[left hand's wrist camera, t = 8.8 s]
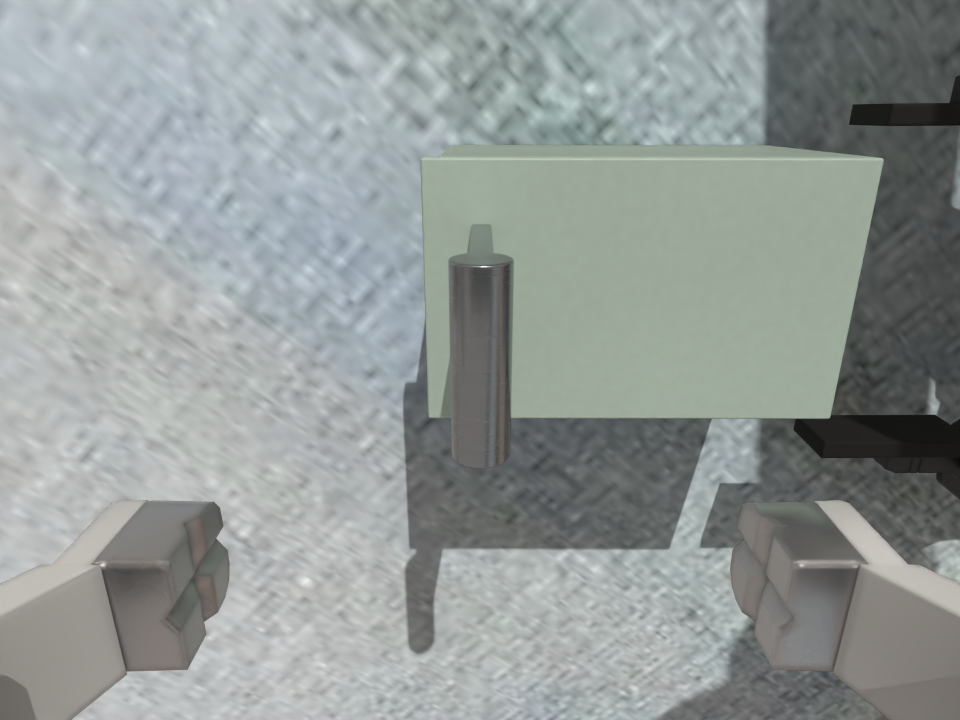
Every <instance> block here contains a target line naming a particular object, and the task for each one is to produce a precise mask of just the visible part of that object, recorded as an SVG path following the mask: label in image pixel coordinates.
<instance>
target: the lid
mask: <svg viewBox="0 0 960 720" xmlns="http://www.w3.org/2000/svg"><path fill="white" fill-rule="evenodd" d="M883 162H884V159H883V158H877V157H656V156H425V157H423V158H421V190H422V224H423V257H424V290H425V323H426V357H427V390H428V416H429V418H451V452H452V457H453V459H454V460H455V461H456V462H457V463H459V464H460V465H463V466H465V467H469V468H476V469H486V468H493V467H497V466H499V465H502V464H503V463H505V462H506V461H507V460H508V459H509V457H510V444H511V418H667V419H829V418H830V416H831V411H832V406H833V402H834V397H835V392H836V387H837V382H838V378H839V373H840V368H841V363H842V359H843V354H844V349H845V344H846V339H847V335H848V330H849V325H850V320H851V315H852V311H853V306H854V301H855V296H856V291H857V287H858V282H859V277H860V272H861V267H862V263H863V258H864V253H865V248H866V244H867V239H868V234H869V229H870V224H871V220H872V215H873V210H874V205H875V200H876V196H877V191H878V186H879V181H880V176H881V172H882V167H883Z"/></svg>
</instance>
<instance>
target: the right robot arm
mask: <svg viewBox="0 0 960 720" xmlns="http://www.w3.org/2000/svg"><path fill="white" fill-rule="evenodd" d="M849 125H875V126H954V125H960V75H959V76H957V77H956V78H955V82H954V87H953V91H952V95H951V100H950V103H915V104H857V105H853V107H852V112H851V118H850V123H849ZM794 431H795V432H796V433H797V434H798V435H799V436H800V437H801V438H802V439H803V440H804V441H805V442H806V443H807V444H808V445H809V446H810V447H811V448H812V449H813V450H814V451H815V452H816V453H817V454H818V455H819V456H820V457H821V458H874V459H875V460H876V461H877V462H878V463H879V464H880V465H882V466H883V467H884V468H885V469H887V470H889V471H892V472H895V473H908V472H909V473H917V472H918V473H937V474H936V479H937V480H938V482H939V483H940V484H942V485H943V486H944V487H945V488H946V489H948V490H949V491H950V492H951V493H953V494H954V495H955V496H956V497H958V498H959V499H960V419H959V420H958V421H956V422H954V423H953V424H951V425H950V424H948V423H947V422H945V421H944V420H942V419H941V418H939V417H937V416H936V415H831V416H830V418H829V419H796V420H795V426H794Z"/></svg>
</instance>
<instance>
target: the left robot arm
mask: <svg viewBox="0 0 960 720" xmlns="http://www.w3.org/2000/svg"><path fill="white" fill-rule="evenodd" d="M222 528H223V521H222V516H221V511H220V507H219V506H218V505H217V504H216V503H215V502H196V501H148V500H127V501H116V502H112V503H111V504H110V505H109V506H108V507H107V508H106V509H105V510H104V511H103V512H102V513H101V514H100V515H99V516H98V517H97V518H96V519H95V520H94V521H93V522H92V523H91V524H90V525H89V526H88V528H87V529H86V530H85V531H84V532H83V533H82V534H81V535H80V536H79V537H78V538H77V539H76V540H75V541H74V542H73V543H72V544H71V545H70V546H69V547H68V548H67V549H66V550H65V551H64V553H63V554H62V555H61V556H60V557H59V558H58V559H57V560H56V561H55V562H54V563H53V564H52V565H39V566H37V567H35V568H33V569H31V570H29V571H27V572H24V573H22V574H20V575H18V576H16V577H14V578H12V579H9V580H7V581H5V582H3V583H1V584H0V720H71V719H73V718H74V717H75V716H76V715H77V714H79V713H80V712H81V711H82V710H84V709H85V708H86V707H87V706H89V705H90V704H91V703H92V702H94V701H95V700H96V699H97V698H98V697H100V696H101V695H102V694H103V693H105V692H106V691H107V690H108V689H110V688H111V687H112V686H113V685H115V684H116V683H117V682H118V681H120V680H121V679H122V678H123V677H124V676H126V675H127V672H126V671H158V670H187V669H188V668H189V666H190V664H191V662H192V660H193V658H194V656H195V654H196V653H197V651H198V649H199V647H200V645H201V643H202V641H203V640H204V638H205V636H206V630H205V625H204V621H206V620H207V619H209V618H210V617H212V616H213V615H215V614H216V613H217V612H218V611H219V609H220V607H221V605H222V603H223V601H224V599H225V596H226V591H227V587H228V582H229V557H228V550H227V549H226V548H225V547H224V546H223V545H222V544H221V543H220V542H219V541H218V540H217V539H216V537H217V536H218V534H219V533H220V531H221V529H222ZM737 528H738V529H739V531H740V533H741V534H742V536H743V537H744V539H743V540H742V541H741V542H740V543H739V544H738V545H737V546H736V547H735V548H734V549H733V550H732V558H731V566H730V572H731V582H732V589H733V592H734V595H735V599H736V601H737V603H738V605H739V607H740V609H741V611H742V612H743V613H744V614H745V615H747V616H748V617H750V618H751V619H753V620H754V621H756V625H755V630H754V636H755V638H756V639H757V641H758V643H759V645H760V647H761V649H762V651H763V653H764V654H765V656H766V658H767V660H768V662H769V664H770V666H771V667H772V669H773V670H801V671H834V672H833V675H835V676H836V677H837V678H838V679H840V680H841V681H842V682H843V683H844V684H846V685H847V686H848V687H849V688H851V689H852V690H853V691H854V692H856V693H857V694H858V695H859V696H861V697H862V698H863V699H864V700H865V701H867V702H868V703H869V704H870V705H872V706H873V707H874V708H875V709H877V710H878V711H879V712H880V713H882V714H883V715H884V716H885V717H886V718H888V719H889V720H960V584H959V583H957V582H955V581H953V580H951V579H948V578H946V577H944V576H942V575H940V574H938V573H936V572H933V571H931V570H929V569H927V568H925V567H923V566H921V565H908V564H907V563H906V562H905V561H904V560H903V559H902V558H901V557H900V556H899V555H898V553H897V552H896V551H895V550H894V549H893V548H892V547H891V546H890V545H889V544H888V543H887V542H886V541H885V540H884V539H883V538H882V537H881V536H880V535H879V534H878V533H877V532H876V531H875V529H874V528H873V527H872V526H871V525H870V524H869V523H868V522H867V521H866V520H865V519H864V518H863V517H862V516H861V515H860V514H859V513H858V512H857V511H856V510H855V509H854V508H853V507H852V505H851V504H849V503H847V502H845V501H842V500H826V501H806V502H763V503H743V505H742V507H741V509H740V511H739V515H738V520H737Z"/></svg>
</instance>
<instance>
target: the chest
mask: <svg viewBox="0 0 960 720" xmlns="http://www.w3.org/2000/svg"><path fill="white" fill-rule="evenodd" d="M441 156H656V157H868V156H860V155H851V154H842V153H832V152H823V151H814V150H805V149H796V148H787V147H777V146H768V145H452V146H450V147H449V148H448V149H447V150H446V151H445V152H444V153H443V154H442V155H441Z"/></svg>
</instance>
